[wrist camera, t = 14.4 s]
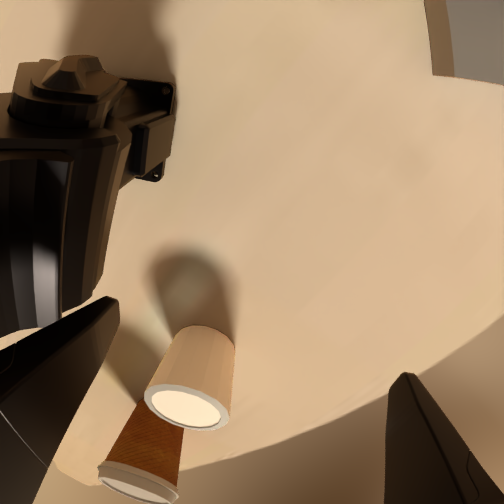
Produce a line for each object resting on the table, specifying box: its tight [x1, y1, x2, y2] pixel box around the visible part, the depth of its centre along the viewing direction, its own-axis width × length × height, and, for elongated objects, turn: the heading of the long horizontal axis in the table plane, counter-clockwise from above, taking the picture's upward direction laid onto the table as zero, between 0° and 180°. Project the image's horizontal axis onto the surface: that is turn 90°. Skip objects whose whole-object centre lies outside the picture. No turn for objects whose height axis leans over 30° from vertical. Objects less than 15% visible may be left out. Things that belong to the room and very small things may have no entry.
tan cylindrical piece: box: [144, 325, 235, 431], centre depth 25 cm, size 7×7×7 cm
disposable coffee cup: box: [97, 399, 184, 504], centre depth 31 cm, size 10×10×12 cm
